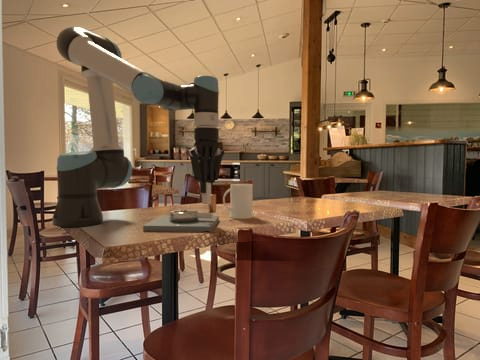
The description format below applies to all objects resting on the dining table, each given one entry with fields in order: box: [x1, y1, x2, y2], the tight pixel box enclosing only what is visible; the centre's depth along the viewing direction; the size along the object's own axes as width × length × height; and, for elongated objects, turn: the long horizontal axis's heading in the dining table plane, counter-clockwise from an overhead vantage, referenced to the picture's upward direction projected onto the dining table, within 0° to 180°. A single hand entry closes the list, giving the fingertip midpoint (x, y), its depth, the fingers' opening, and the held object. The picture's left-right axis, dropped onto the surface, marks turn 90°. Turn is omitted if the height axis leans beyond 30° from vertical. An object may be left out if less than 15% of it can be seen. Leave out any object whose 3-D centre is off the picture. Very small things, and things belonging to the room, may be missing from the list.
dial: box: [169, 193, 217, 222], centre depth 116 cm, size 15×9×8 cm, turn 86°
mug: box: [222, 183, 254, 220], centre depth 133 cm, size 12×8×12 cm
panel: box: [142, 214, 220, 233], centre depth 117 cm, size 20×20×2 cm
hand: (206, 203), depth 115 cm, fingers closed
